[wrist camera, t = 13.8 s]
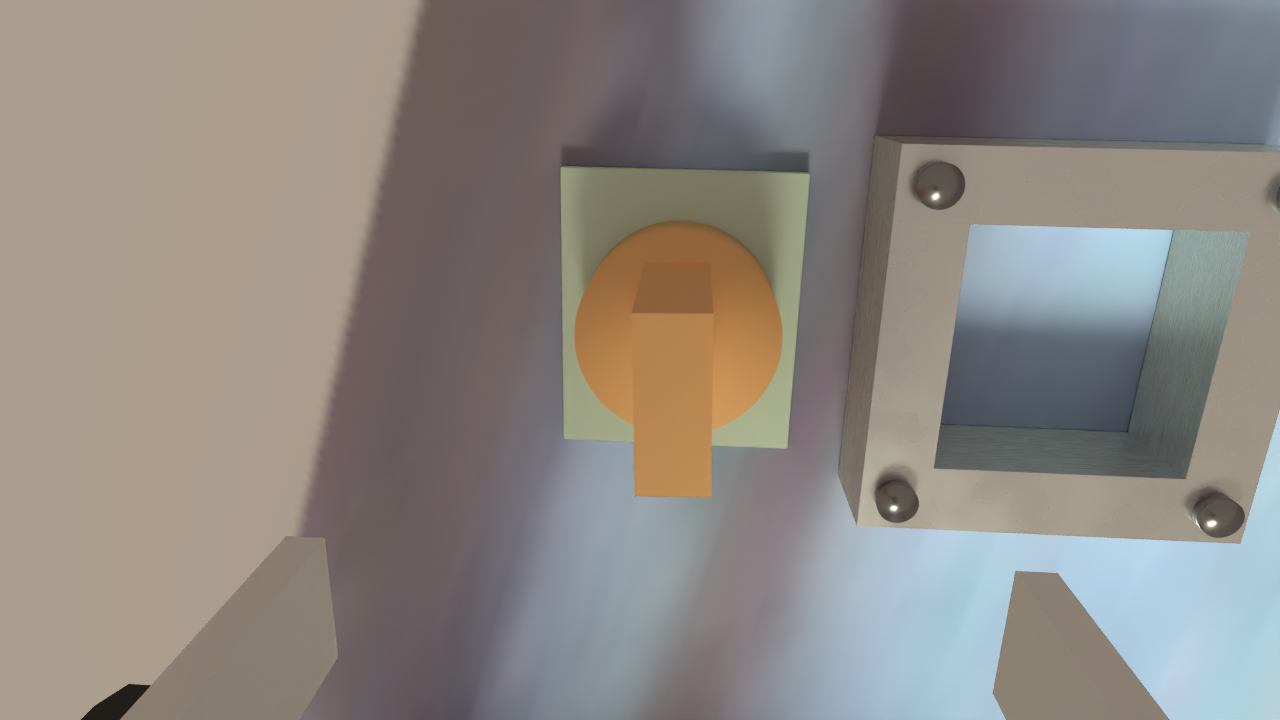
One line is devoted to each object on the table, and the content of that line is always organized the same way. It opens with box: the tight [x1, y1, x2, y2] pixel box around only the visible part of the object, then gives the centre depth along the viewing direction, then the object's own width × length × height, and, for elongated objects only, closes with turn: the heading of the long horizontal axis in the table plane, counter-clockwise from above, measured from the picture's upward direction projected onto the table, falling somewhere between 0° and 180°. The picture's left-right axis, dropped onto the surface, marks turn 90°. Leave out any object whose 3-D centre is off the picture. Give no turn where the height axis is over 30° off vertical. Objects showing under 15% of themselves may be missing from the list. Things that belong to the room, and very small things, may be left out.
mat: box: [561, 166, 810, 449], centre depth 35 cm, size 12×10×1 cm
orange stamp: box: [574, 221, 783, 497], centre depth 30 cm, size 8×8×10 cm
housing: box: [838, 135, 1280, 544], centre depth 32 cm, size 15×15×5 cm
